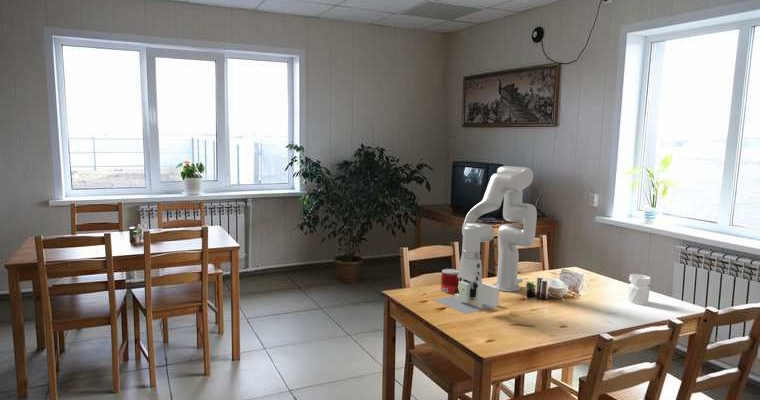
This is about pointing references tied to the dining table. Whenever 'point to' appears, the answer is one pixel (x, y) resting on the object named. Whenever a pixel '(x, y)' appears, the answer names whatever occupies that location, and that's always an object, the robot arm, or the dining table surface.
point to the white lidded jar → (639, 289)
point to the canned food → (449, 281)
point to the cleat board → (462, 305)
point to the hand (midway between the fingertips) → (468, 295)
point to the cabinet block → (466, 291)
